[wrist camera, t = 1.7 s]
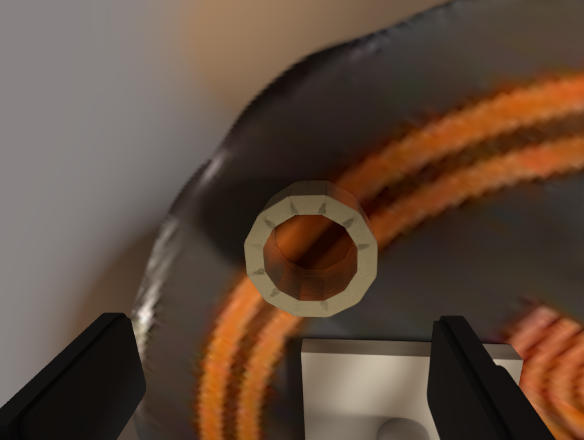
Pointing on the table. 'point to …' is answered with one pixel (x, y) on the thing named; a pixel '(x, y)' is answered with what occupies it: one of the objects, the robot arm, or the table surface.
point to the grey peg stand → (374, 388)
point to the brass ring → (312, 282)
